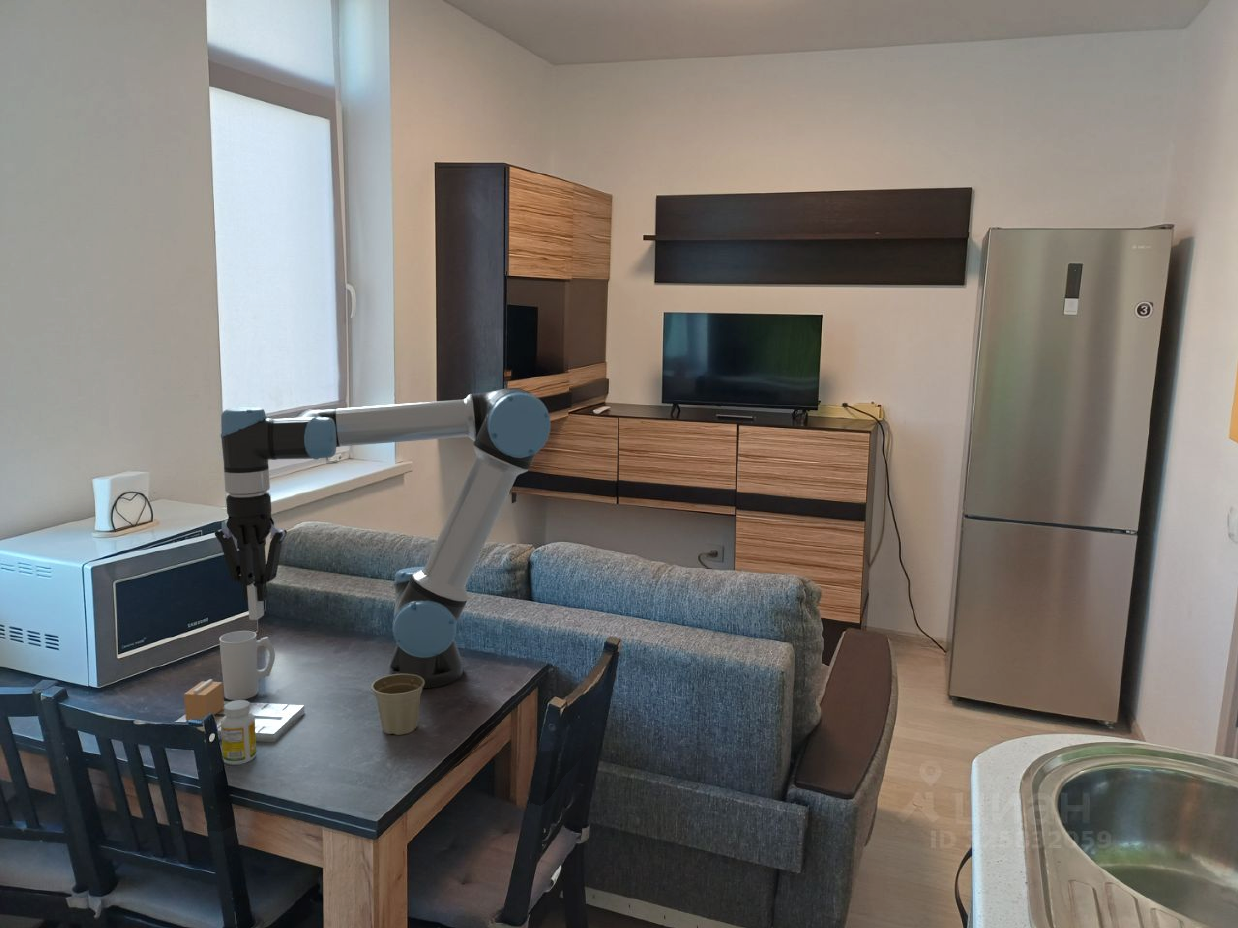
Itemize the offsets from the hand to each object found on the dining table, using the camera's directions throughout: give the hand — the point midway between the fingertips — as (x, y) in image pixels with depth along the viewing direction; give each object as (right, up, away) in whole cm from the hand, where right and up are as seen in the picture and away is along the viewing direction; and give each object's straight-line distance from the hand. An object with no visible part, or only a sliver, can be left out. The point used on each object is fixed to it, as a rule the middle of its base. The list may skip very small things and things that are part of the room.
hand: (256, 617), depth 170 cm
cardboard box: (-9, -18, -1) cm, 20 cm away
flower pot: (+27, -20, -3) cm, 34 cm away
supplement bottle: (+3, -22, -14) cm, 26 cm away
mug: (-6, -17, +13) cm, 23 cm away
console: (-3, -19, -1) cm, 20 cm away
